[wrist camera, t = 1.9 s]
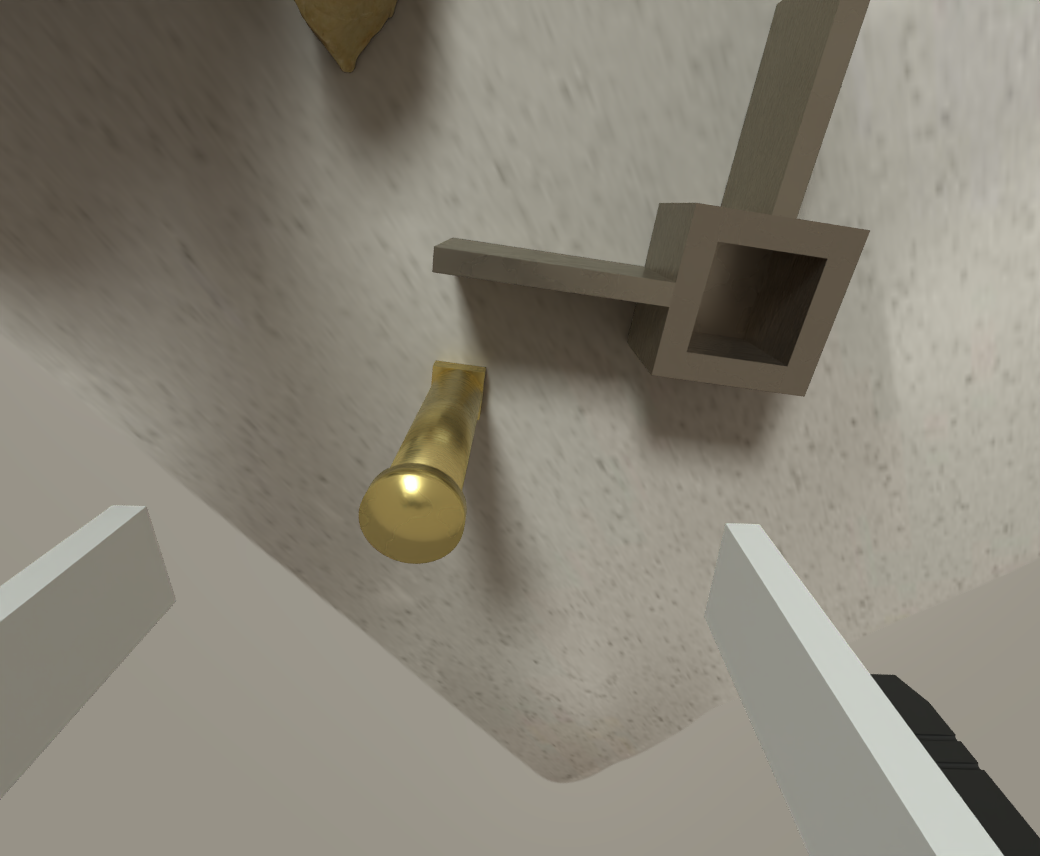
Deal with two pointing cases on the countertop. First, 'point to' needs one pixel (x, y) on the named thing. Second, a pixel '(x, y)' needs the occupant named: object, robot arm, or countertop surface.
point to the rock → (346, 25)
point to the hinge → (731, 234)
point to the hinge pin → (427, 473)
